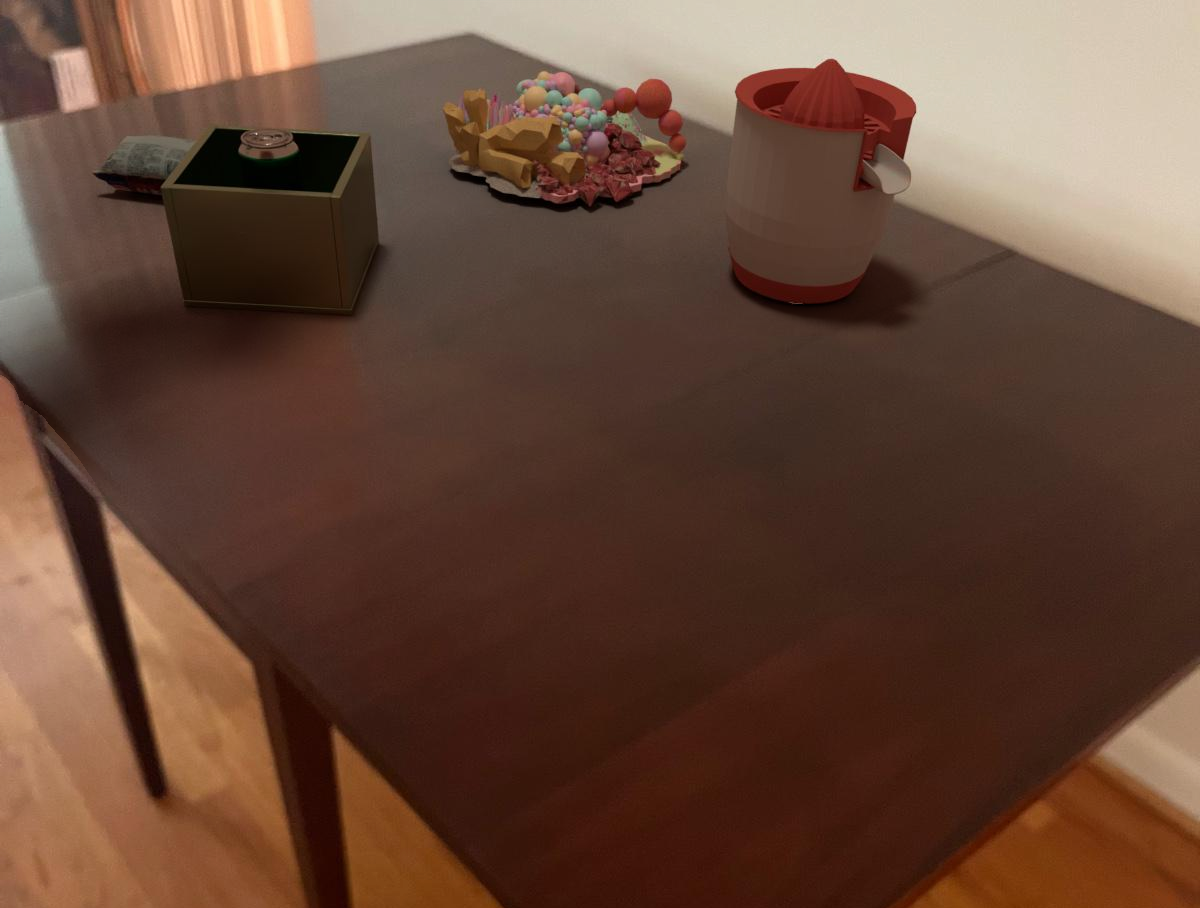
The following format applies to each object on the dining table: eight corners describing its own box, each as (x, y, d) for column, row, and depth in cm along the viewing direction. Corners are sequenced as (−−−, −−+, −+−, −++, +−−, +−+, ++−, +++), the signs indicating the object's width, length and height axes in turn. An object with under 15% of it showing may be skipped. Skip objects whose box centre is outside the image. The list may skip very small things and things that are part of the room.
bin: (184, 306, 102) (160, 187, 95) (228, 235, 113) (209, 123, 106) (351, 315, 102) (339, 197, 95) (379, 244, 113) (370, 133, 106)
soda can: (252, 260, 108) (231, 128, 100) (307, 254, 109) (291, 123, 101) (261, 284, 104) (240, 149, 96) (318, 278, 106) (302, 144, 98)
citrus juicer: (812, 343, 102) (856, 109, 89) (679, 268, 112) (701, 47, 99) (924, 296, 110) (981, 75, 97) (791, 231, 120) (825, 21, 107)
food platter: (597, 229, 118) (601, 136, 112) (409, 174, 126) (403, 85, 120) (705, 155, 134) (714, 71, 128) (533, 111, 143) (534, 30, 137)
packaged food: (138, 165, 124) (127, 117, 121) (242, 179, 123) (235, 131, 120) (95, 197, 118) (83, 148, 115) (205, 212, 116) (196, 163, 113)
